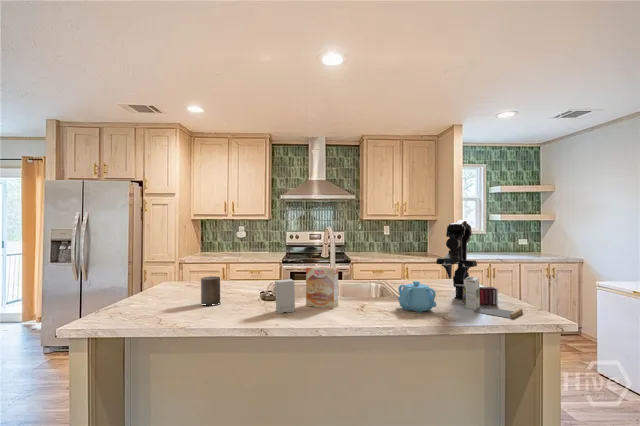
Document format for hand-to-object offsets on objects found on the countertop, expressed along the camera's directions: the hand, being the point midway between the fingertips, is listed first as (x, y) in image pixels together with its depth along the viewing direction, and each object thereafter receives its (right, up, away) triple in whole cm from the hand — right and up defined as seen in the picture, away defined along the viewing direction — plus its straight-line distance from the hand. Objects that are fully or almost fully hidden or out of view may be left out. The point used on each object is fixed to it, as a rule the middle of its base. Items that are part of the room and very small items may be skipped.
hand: (456, 279), depth 185 cm
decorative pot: (-22, -13, -8) cm, 27 cm away
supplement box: (+21, -9, +1) cm, 22 cm away
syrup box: (+6, -13, -6) cm, 15 cm away
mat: (+14, -13, -15) cm, 24 cm away
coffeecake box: (-67, -14, +1) cm, 69 cm away
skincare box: (-85, -14, -10) cm, 87 cm away
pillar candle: (-125, -14, +7) cm, 126 cm away
